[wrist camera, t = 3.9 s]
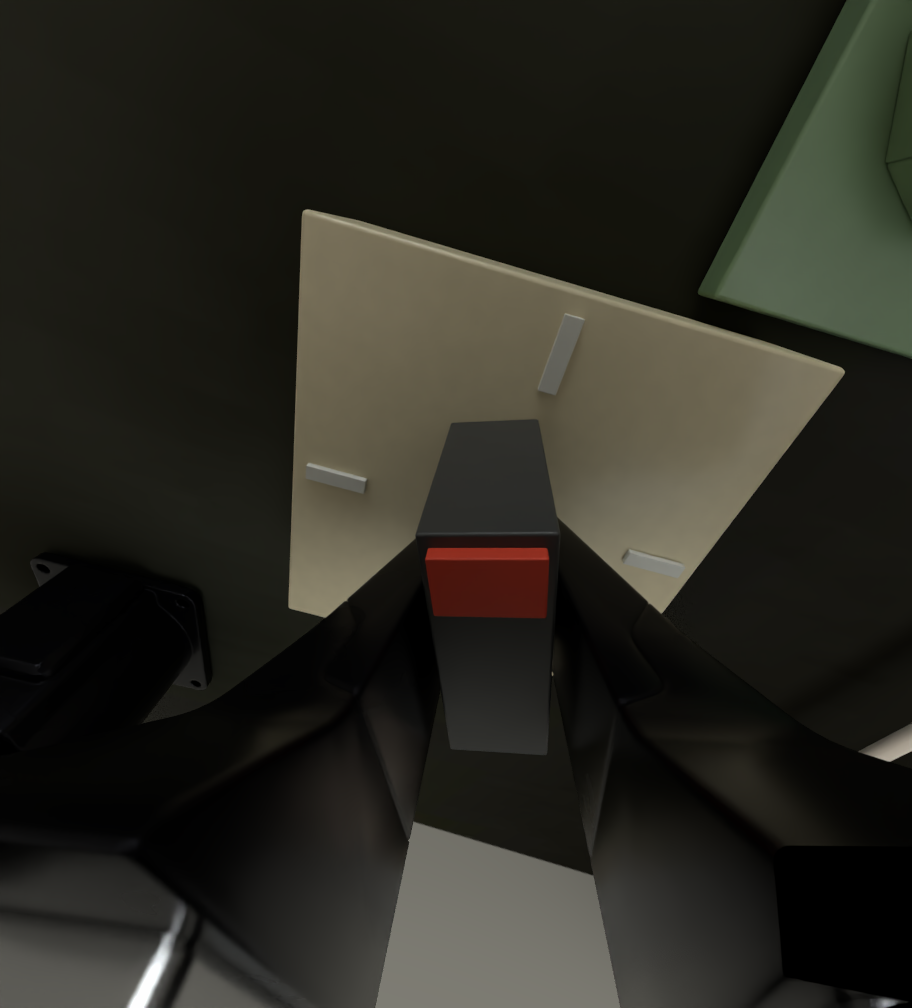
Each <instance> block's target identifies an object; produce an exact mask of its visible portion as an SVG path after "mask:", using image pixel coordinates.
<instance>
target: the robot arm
mask: <svg viewBox="0 0 912 1008" xmlns="http://www.w3.org/2000/svg"><path fill="white" fill-rule="evenodd" d="M557 519H558V524H559V530H560V549H559V566H558V582H557V599H556V615H555V632H554V648H553V665H552V672H553V677H554V682H555V687H556V692H557V697H558V702H559V707H560V712H561V717H562V721H563V726H564V731H565V736H566V741H567V746H568V751H569V756H570V761H571V766H572V771H573V776H574V781H575V786H576V790H577V795H578V800H579V805H580V810H581V815H582V820H583V825H584V830H585V835H586V840H587V845H588V850H589V854H590V856H591V865H592V870H593V875H594V879H595V885H596V889H597V894H598V899H599V904H600V909H601V914H602V919H603V924H604V928H605V934H606V939H607V944H608V949H609V953H610V958H611V963H612V968H613V973H614V978H615V983H616V988H617V993H618V998H619V1003H620V1007H621V1008H912V769H911V768H907V767H904V766H901V765H898V764H895V763H892V762H889V761H885V760H882V759H879V758H876V757H873V756H870V755H867V754H863V753H860V752H857V751H854V750H852V749H849V748H846V747H844V746H841V745H839V744H837V743H835V742H832V741H830V740H828V739H826V738H824V737H822V736H821V735H819V734H817V733H815V732H813V731H812V730H810V729H809V728H807V727H805V726H804V725H802V724H801V723H799V722H798V721H796V720H795V719H794V718H792V717H791V716H789V715H788V714H787V713H785V712H784V711H783V710H781V709H780V708H779V707H777V706H776V705H775V704H773V703H772V702H771V701H770V700H768V699H767V698H766V697H764V696H763V695H762V694H760V693H759V692H758V691H757V690H755V689H754V688H753V687H751V686H750V685H749V684H747V683H746V682H745V681H744V680H742V679H741V678H740V677H738V676H737V675H736V674H734V673H733V672H732V671H730V670H729V669H728V668H727V667H725V666H724V665H723V664H721V663H720V662H719V661H717V660H716V659H715V658H714V657H712V656H711V655H710V654H709V653H707V652H706V651H705V650H704V649H702V648H701V647H700V646H699V645H697V644H696V643H695V642H694V641H692V640H691V639H690V638H689V637H687V636H686V635H685V634H684V633H683V632H681V631H680V630H679V629H678V628H677V627H676V626H675V625H674V624H672V623H671V622H670V621H669V620H668V619H667V618H666V617H664V616H663V615H662V614H661V613H660V612H659V611H658V610H657V609H656V608H655V607H654V606H653V605H652V604H648V601H647V600H646V599H645V598H644V597H643V596H642V595H641V594H640V593H638V592H637V591H636V590H635V589H634V588H633V587H632V586H631V585H630V584H629V583H628V582H627V581H626V580H625V579H623V578H622V577H621V576H620V575H619V574H618V573H617V572H616V571H615V570H614V569H613V568H612V567H611V566H610V565H608V564H607V563H606V562H605V561H604V560H603V559H602V558H601V557H600V556H599V555H598V554H597V553H596V552H595V551H593V550H592V549H591V548H590V547H589V546H588V545H587V544H586V543H585V542H584V541H583V540H582V539H581V538H579V537H578V536H577V535H576V534H575V533H574V532H573V531H572V530H571V529H570V528H569V527H568V526H567V525H566V524H564V523H563V522H562V521H561V520H560V519H559V518H558V517H557ZM30 565H31V568H32V570H33V572H34V575H35V577H36V579H37V582H38V584H39V586H40V587H39V588H37V589H36V590H35V591H33V592H32V593H30V594H29V595H28V596H26V597H25V598H23V599H22V600H21V601H19V602H18V603H16V604H15V605H14V606H12V607H11V608H9V609H8V610H7V611H5V612H4V613H2V614H1V615H0V1008H375V1005H376V1001H377V996H378V991H379V986H380V981H381V977H382V972H383V967H384V962H385V957H386V952H387V947H388V942H389V938H390V933H391V927H392V923H393V918H394V913H395V908H396V903H397V898H398V894H399V889H400V884H401V879H402V874H403V870H404V864H405V859H406V855H407V850H408V845H409V841H408V840H409V838H410V835H411V830H412V825H413V820H414V815H415V811H416V806H417V801H418V796H419V791H420V786H421V781H422V776H423V772H424V767H425V762H426V757H427V752H428V747H429V742H430V738H431V733H432V728H433V723H434V718H435V713H436V708H437V703H438V699H439V694H440V689H441V688H440V682H439V676H438V670H437V664H436V658H435V652H434V646H433V640H432V634H431V628H430V622H429V616H428V610H427V604H426V598H425V592H424V586H423V580H422V574H421V568H420V562H419V556H418V550H417V544H416V538H415V539H414V540H413V541H412V542H411V543H410V544H409V545H407V546H406V547H405V548H404V549H403V550H402V551H401V552H400V553H398V554H397V555H396V556H395V557H394V558H393V559H392V560H390V561H389V562H388V563H387V564H386V565H385V566H384V567H383V568H381V569H380V570H379V571H378V572H377V573H376V574H375V575H374V576H372V577H371V578H370V579H369V580H368V581H367V582H366V583H365V584H363V585H362V586H361V587H360V588H359V589H358V590H357V591H355V592H354V593H353V594H352V595H351V596H350V597H349V598H348V599H347V601H344V602H343V603H342V604H341V605H339V606H338V607H337V608H336V609H335V610H334V611H333V612H332V613H330V614H329V615H328V616H327V617H326V618H324V619H323V620H322V621H321V622H320V623H318V624H317V625H316V626H315V627H314V628H313V629H311V630H310V631H309V632H307V633H306V634H305V635H303V636H302V637H301V638H300V639H298V640H297V641H296V642H294V643H293V644H292V645H290V646H289V647H288V648H286V649H285V650H284V651H282V652H281V653H280V654H278V655H277V656H276V657H274V658H273V659H272V660H270V661H269V662H267V663H266V664H265V665H263V666H262V667H261V668H259V669H258V670H257V671H255V672H254V673H253V674H251V675H250V676H249V677H247V678H246V679H244V680H243V681H242V682H240V683H239V684H238V685H236V686H235V687H234V688H232V689H231V690H229V691H228V692H227V693H225V694H224V695H222V696H221V697H219V698H217V699H216V700H214V701H212V702H210V703H209V704H207V705H204V706H202V707H200V708H198V709H195V710H193V711H190V712H187V713H184V714H181V715H177V716H173V717H169V718H165V719H160V720H156V721H152V722H148V723H143V724H142V722H143V721H144V720H145V719H146V717H147V716H148V715H149V713H150V712H151V711H152V710H153V708H154V707H155V706H156V704H157V703H158V702H159V701H160V699H161V698H162V697H163V695H164V694H165V693H166V691H167V690H168V689H169V688H170V686H171V685H172V684H176V685H180V686H184V687H188V688H192V689H196V690H204V689H206V688H207V686H208V685H209V683H210V682H211V679H212V677H211V670H210V662H209V654H208V647H207V639H206V631H205V624H204V616H203V608H202V601H201V597H200V596H199V594H198V593H197V592H195V591H194V590H192V589H189V588H186V587H182V586H178V585H174V584H170V583H166V582H163V581H159V580H155V579H151V578H147V577H143V576H139V575H135V574H131V573H127V572H123V571H119V570H115V569H111V568H107V567H103V566H99V565H96V564H92V563H88V562H84V561H80V560H76V559H72V558H68V557H64V556H60V555H56V554H52V553H47V552H44V553H41V554H40V555H38V556H37V557H35V558H33V559H32V560H31V561H30Z"/></svg>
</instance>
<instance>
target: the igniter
mask: <svg viewBox="0 0 912 1008" xmlns="http://www.w3.org/2000/svg"><path fill="white" fill-rule="evenodd" d="M698 294H699V295H700V296H704V297H707V298H710V299H714V300H717V301H720V302H724V303H727V304H730V305H734V306H737V307H740V308H744V309H747V310H750V311H754V312H757V313H760V314H764V315H767V316H770V317H774V318H777V319H780V320H784V321H787V322H790V323H794V324H797V325H800V326H804V327H807V328H810V329H814V330H817V331H820V332H824V333H827V334H830V335H834V336H837V337H840V338H844V339H847V340H850V341H854V342H857V343H860V344H864V345H867V346H870V347H874V348H877V349H881V350H884V351H887V352H891V353H894V354H897V355H901V356H904V357H907V358H911V359H912V0H846V2H845V4H844V6H843V8H842V10H841V12H840V14H839V16H838V18H837V20H836V22H835V24H834V26H833V28H832V30H831V32H830V34H829V36H828V38H827V40H826V42H825V43H824V45H823V47H822V49H821V51H820V53H819V55H818V57H817V59H816V61H815V63H814V65H813V67H812V69H811V71H810V73H809V75H808V77H807V79H806V81H805V83H804V85H803V86H802V88H801V90H800V92H799V94H798V96H797V98H796V100H795V102H794V104H793V106H792V108H791V110H790V112H789V114H788V116H787V118H786V120H785V122H784V124H783V126H782V128H781V129H780V131H779V133H778V135H777V137H776V139H775V141H774V143H773V145H772V147H771V149H770V151H769V153H768V155H767V157H766V159H765V161H764V163H763V165H762V167H761V169H760V171H759V172H758V174H757V176H756V178H755V180H754V182H753V184H752V186H751V188H750V190H749V192H748V194H747V196H746V198H745V200H744V202H743V204H742V206H741V208H740V210H739V212H738V214H737V215H736V217H735V219H734V221H733V223H732V225H731V227H730V229H729V231H728V233H727V235H726V237H725V239H724V241H723V243H722V245H721V247H720V249H719V251H718V253H717V255H716V257H715V259H714V260H713V262H712V264H711V266H710V268H709V270H708V272H707V274H706V276H705V278H704V280H703V282H702V284H701V286H700V288H699V290H698Z"/></svg>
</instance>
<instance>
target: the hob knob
mask: <svg viewBox="0 0 912 1008" xmlns="http://www.w3.org/2000/svg"><path fill="white" fill-rule="evenodd" d="M415 538H416V544H417V550H418V556H419V562H420V568H421V574H422V580H423V586H424V592H425V598H426V604H427V610H428V616H429V622H430V628H431V634H432V640H433V646H434V652H435V658H436V664H437V670H438V676H439V682H440V688H441V694H442V700H443V707H444V713H445V719H446V725H447V731H448V737H449V743H450V748H451V749H459V750H475V751H490V752H506V753H522V754H537V755H546V754H547V747H548V731H549V714H550V698H551V681H552V665H553V648H554V632H555V615H556V599H557V582H558V566H559V549H560V530H559V524H558V519H557V514H556V509H555V504H554V498H553V493H552V488H551V483H550V478H549V472H548V467H547V462H546V457H545V452H544V446H543V441H542V436H541V431H540V426H539V421H538V420H537V419H528V420H504V421H481V422H458V423H451V425H450V429H449V432H448V435H447V438H446V441H445V444H444V447H443V450H442V453H441V457H440V460H439V463H438V466H437V469H436V472H435V475H434V478H433V481H432V484H431V488H430V491H429V494H428V497H427V500H426V503H425V506H424V509H423V512H422V515H421V519H420V522H419V525H418V528H417V531H416V534H415Z"/></svg>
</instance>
